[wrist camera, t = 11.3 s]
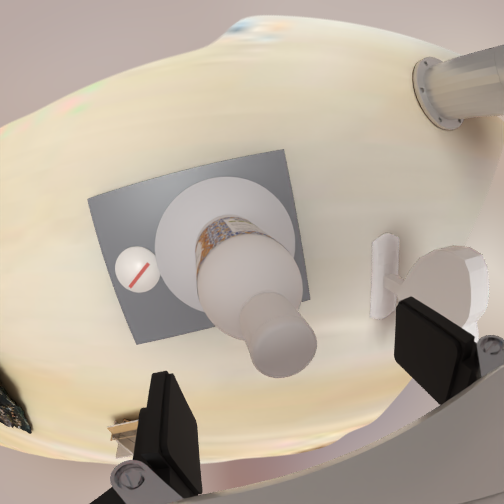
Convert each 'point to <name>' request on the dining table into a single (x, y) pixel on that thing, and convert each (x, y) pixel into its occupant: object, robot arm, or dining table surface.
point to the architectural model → (124, 437)
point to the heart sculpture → (431, 282)
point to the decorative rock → (12, 413)
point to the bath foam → (254, 294)
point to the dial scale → (186, 235)
